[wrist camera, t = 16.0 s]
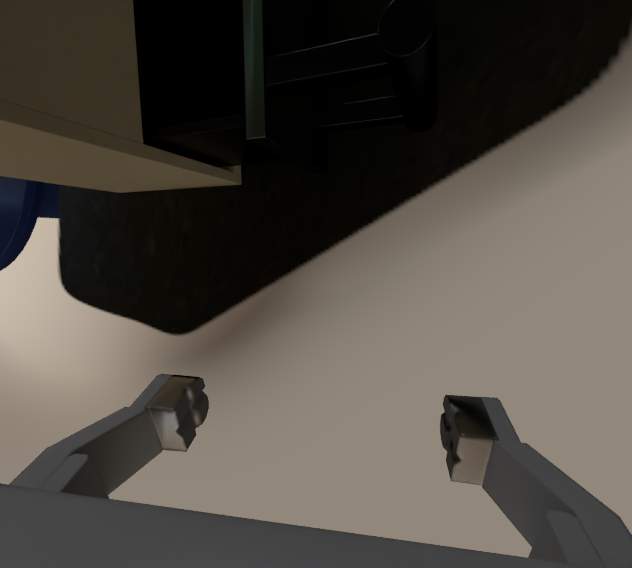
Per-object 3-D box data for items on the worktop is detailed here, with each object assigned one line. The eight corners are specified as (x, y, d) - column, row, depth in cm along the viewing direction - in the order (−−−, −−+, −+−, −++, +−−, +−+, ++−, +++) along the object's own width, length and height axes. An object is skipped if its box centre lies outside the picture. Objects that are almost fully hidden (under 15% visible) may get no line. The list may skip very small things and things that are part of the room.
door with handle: (448, -84, 18) (456, -398, 9) (435, 165, 20) (432, 106, 11) (163, 8, 26) (11, -116, 17) (173, 184, 28) (43, 158, 19)
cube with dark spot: (235, -5, 25) (-109, -411, 9) (241, 184, 27) (-33, 111, 11) (106, 35, 30) (-260, -186, 14) (119, 192, 32) (-189, 149, 16)
